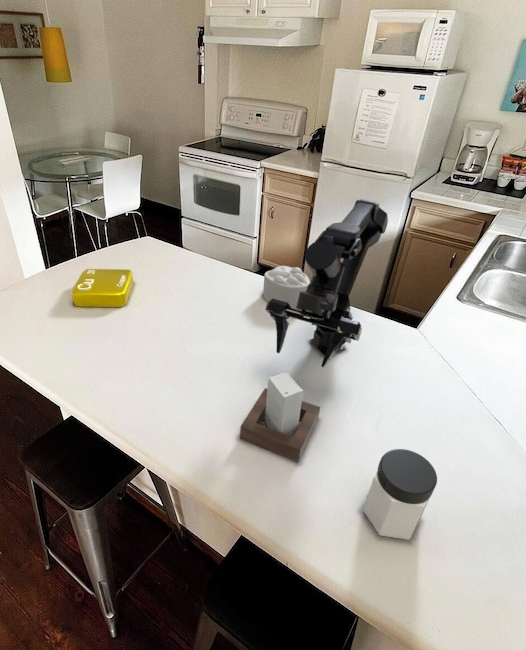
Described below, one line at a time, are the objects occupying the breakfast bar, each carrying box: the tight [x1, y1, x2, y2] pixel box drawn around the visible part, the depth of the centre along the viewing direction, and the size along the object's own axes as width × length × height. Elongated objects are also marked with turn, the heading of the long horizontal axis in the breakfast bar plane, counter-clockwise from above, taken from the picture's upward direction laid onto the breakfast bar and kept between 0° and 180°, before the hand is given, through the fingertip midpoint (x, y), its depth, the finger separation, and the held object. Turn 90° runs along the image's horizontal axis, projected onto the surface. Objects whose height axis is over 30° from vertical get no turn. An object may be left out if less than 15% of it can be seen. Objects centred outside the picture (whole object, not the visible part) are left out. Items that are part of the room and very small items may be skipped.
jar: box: [362, 448, 438, 541], centre depth 70 cm, size 9×8×12 cm
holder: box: [239, 387, 321, 463], centre depth 87 cm, size 12×12×4 cm
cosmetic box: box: [264, 371, 304, 437], centre depth 85 cm, size 6×4×12 cm
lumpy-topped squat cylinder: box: [262, 265, 311, 310], centre depth 126 cm, size 10×13×9 cm
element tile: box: [71, 268, 134, 308], centre depth 129 cm, size 15×15×5 cm
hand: (299, 359), depth 87 cm, fingers open, 9 cm apart
